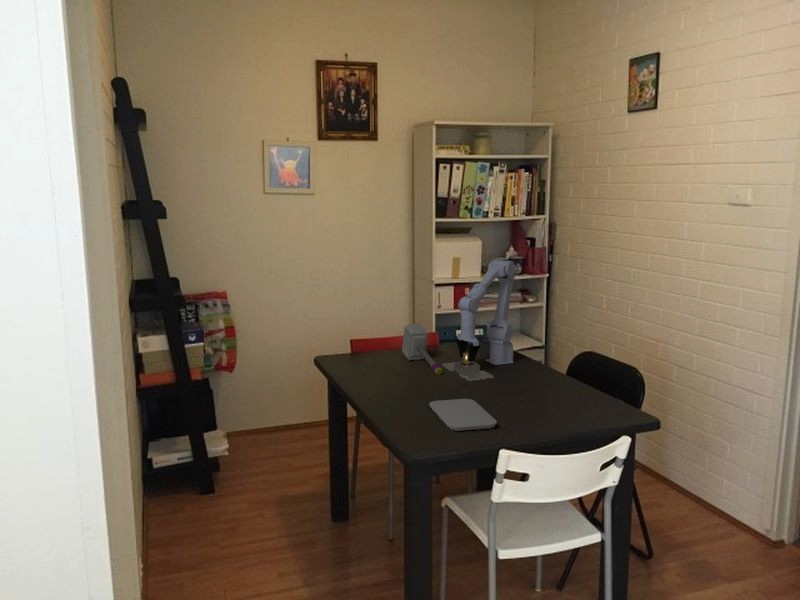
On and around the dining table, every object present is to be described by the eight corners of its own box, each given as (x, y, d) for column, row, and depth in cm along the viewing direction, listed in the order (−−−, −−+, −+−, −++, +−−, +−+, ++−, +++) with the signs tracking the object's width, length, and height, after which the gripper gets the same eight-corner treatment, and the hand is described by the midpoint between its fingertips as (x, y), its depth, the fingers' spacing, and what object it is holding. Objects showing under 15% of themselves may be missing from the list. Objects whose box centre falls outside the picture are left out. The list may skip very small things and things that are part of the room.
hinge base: (465, 363, 292) (465, 355, 292) (493, 378, 271) (493, 369, 270) (442, 365, 288) (442, 357, 287) (468, 381, 267) (469, 372, 266)
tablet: (471, 404, 241) (471, 398, 240) (499, 430, 216) (499, 423, 216) (427, 407, 237) (427, 401, 237) (450, 434, 212) (450, 427, 212)
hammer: (450, 354, 272) (421, 321, 298) (432, 356, 269) (405, 323, 295) (445, 387, 278) (417, 352, 304) (427, 389, 276) (401, 354, 301)
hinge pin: (468, 370, 282) (468, 351, 281) (473, 372, 279) (473, 353, 277) (460, 371, 280) (461, 352, 279) (465, 373, 277) (466, 354, 276)
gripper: (451, 323, 281) (450, 355, 284) (468, 331, 268) (467, 364, 271) (466, 322, 284) (465, 354, 286) (483, 329, 271) (482, 362, 273)
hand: (467, 359), depth 279 cm, fingers open, 7 cm apart
